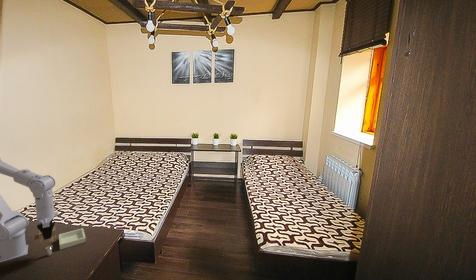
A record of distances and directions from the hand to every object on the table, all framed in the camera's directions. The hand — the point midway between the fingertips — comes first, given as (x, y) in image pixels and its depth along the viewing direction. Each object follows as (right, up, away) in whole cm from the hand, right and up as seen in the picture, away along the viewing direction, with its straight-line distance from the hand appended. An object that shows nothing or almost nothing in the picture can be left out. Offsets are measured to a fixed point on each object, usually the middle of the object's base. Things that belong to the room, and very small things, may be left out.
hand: (47, 235), depth 99 cm
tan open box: (0, -2, 0) cm, 2 cm away
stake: (-1, -9, +2) cm, 10 cm away
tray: (+2, -8, +12) cm, 14 cm away
